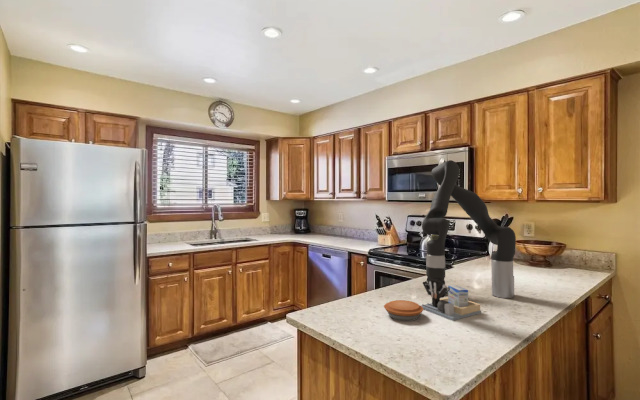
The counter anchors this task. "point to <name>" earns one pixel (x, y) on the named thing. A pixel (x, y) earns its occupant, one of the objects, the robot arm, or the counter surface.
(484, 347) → the counter surface
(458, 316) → the chassis
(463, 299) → the medicine box
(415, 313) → the pie
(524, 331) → the counter surface
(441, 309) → the wheel
